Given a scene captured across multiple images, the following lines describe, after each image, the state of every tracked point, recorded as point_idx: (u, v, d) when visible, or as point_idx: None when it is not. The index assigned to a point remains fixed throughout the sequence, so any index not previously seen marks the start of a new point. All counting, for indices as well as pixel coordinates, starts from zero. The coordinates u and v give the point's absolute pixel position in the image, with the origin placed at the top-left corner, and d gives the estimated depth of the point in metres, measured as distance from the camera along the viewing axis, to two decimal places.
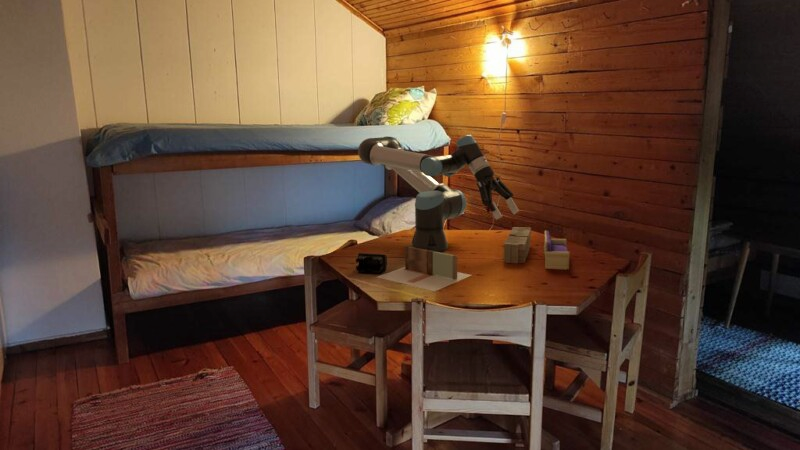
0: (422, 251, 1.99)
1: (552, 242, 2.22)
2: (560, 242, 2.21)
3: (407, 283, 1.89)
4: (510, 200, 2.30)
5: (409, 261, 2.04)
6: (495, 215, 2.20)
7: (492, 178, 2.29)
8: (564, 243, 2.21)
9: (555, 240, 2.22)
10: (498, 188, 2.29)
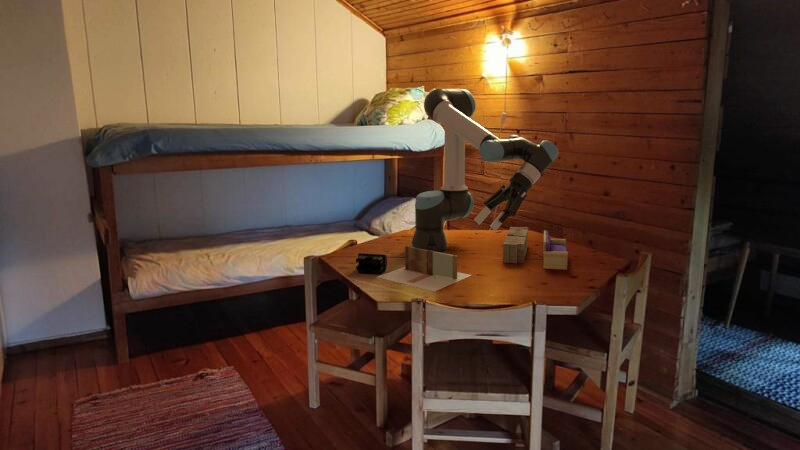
0: (422, 251, 1.99)
1: (551, 242, 2.22)
2: (559, 242, 2.21)
3: (407, 283, 1.89)
4: (488, 212, 2.03)
5: (409, 261, 2.04)
6: (495, 224, 1.92)
7: None
8: (563, 243, 2.21)
9: (554, 240, 2.22)
10: (504, 199, 2.02)
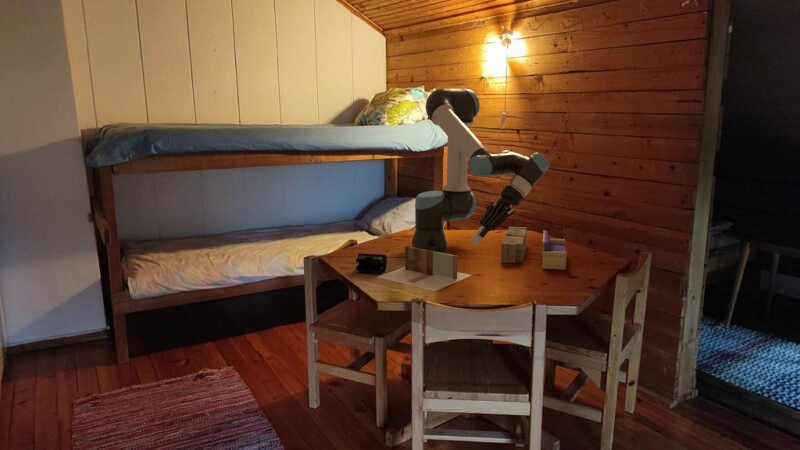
0: (422, 251, 1.99)
1: (551, 242, 2.22)
2: (559, 242, 2.21)
3: (407, 283, 1.89)
4: None
5: (409, 261, 2.04)
6: (475, 238, 1.95)
7: None
8: (563, 243, 2.21)
9: (554, 240, 2.22)
10: None
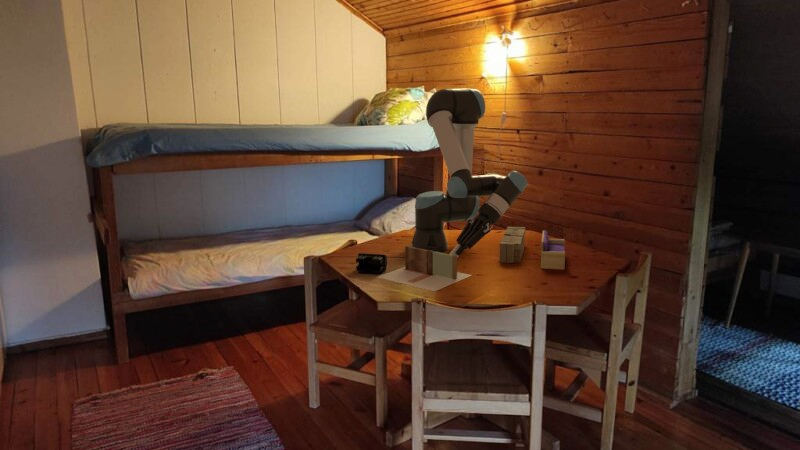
0: (422, 251, 1.99)
1: (550, 242, 2.22)
2: (558, 242, 2.21)
3: (407, 283, 1.89)
4: None
5: (409, 261, 2.04)
6: None
7: None
8: (562, 243, 2.21)
9: (553, 240, 2.22)
10: None
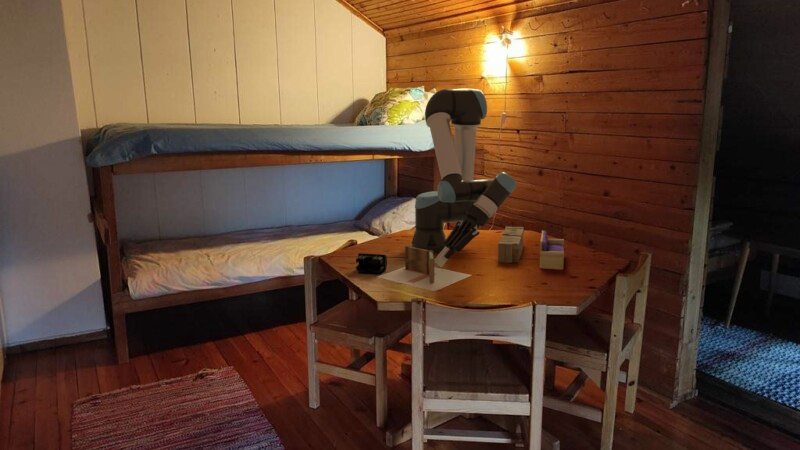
0: (422, 251, 1.99)
1: (549, 242, 2.22)
2: (557, 242, 2.21)
3: (407, 283, 1.89)
4: None
5: (409, 261, 2.04)
6: (440, 260, 1.91)
7: None
8: (561, 243, 2.21)
9: (552, 240, 2.22)
10: None
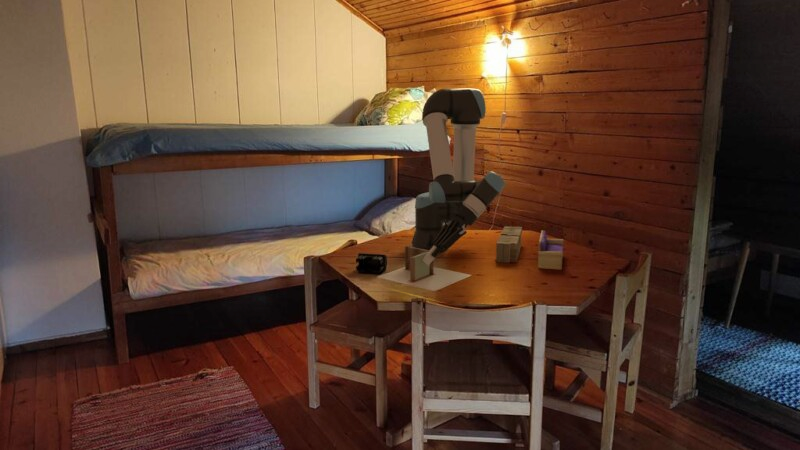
0: (422, 251, 1.99)
1: (549, 242, 2.22)
2: (557, 242, 2.21)
3: (407, 283, 1.89)
4: None
5: (409, 261, 2.04)
6: (427, 258, 1.92)
7: None
8: (561, 243, 2.21)
9: (552, 240, 2.22)
10: None
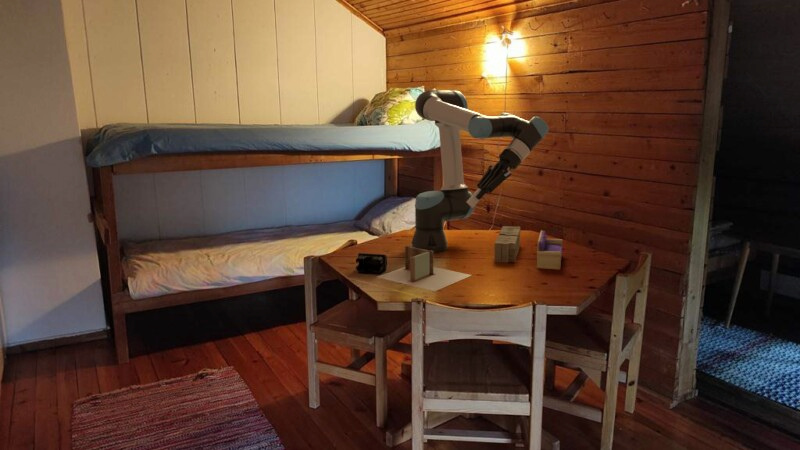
0: (422, 251, 1.99)
1: (548, 242, 2.22)
2: (556, 242, 2.21)
3: (407, 283, 1.89)
4: None
5: (409, 261, 2.04)
6: (472, 200, 1.96)
7: None
8: (560, 243, 2.21)
9: (551, 240, 2.22)
10: None
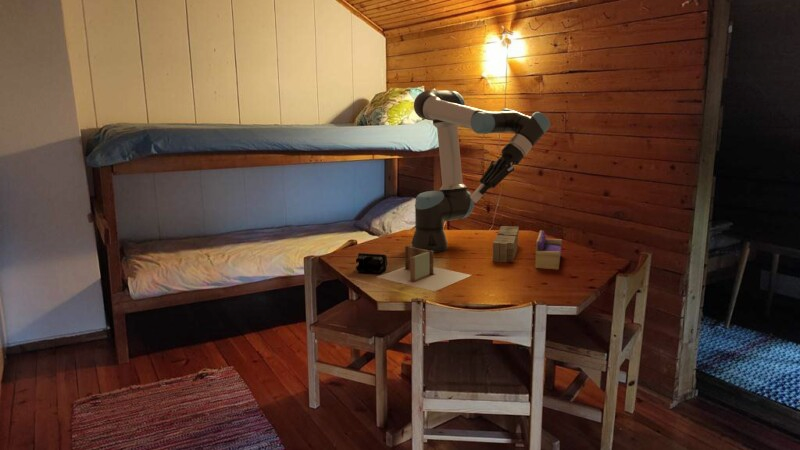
0: (422, 251, 1.99)
1: (547, 242, 2.22)
2: (555, 242, 2.21)
3: (407, 283, 1.89)
4: None
5: (409, 261, 2.04)
6: (475, 195, 1.97)
7: None
8: (559, 243, 2.21)
9: (550, 240, 2.22)
10: None
